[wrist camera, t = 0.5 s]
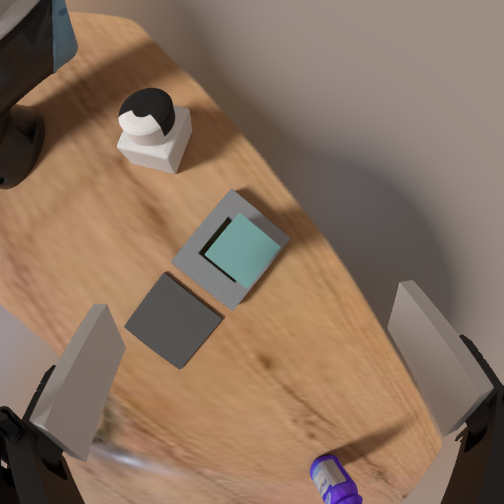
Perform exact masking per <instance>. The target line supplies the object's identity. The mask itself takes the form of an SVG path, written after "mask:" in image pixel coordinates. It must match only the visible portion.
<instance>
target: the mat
mask: <svg viewBox="0 0 504 504" xmlns="http://www.w3.org/2000/svg"><path fill="white" fill-rule="evenodd" d="M221 320H222V318H221V317H220V316H219V315H217V314H216V313H215V312H214V311H212V310H211V309H210V308H208V307H207V306H206V305H204V304H203V303H202V302H201V301H199V300H198V299H197V298H196V297H194V296H193V295H192V294H191V293H189V292H188V291H187V290H186V289H184V288H183V287H182V286H181V285H179V284H178V283H177V282H176V281H174V280H173V279H172V278H171V277H170V276H168V275H167V274H166V273H165V272H164V273H163V275H162V276H161V277H160V279H159V280H158V281H157V282H156V284H155V285H154V286H153V288H152V289H151V290H150V292H149V293H148V294H147V296H146V297H145V298H144V300H143V301H142V303H141V304H140V305H139V307H138V308H137V309H136V311H135V312H134V313H133V315H132V316H131V318H130V319H129V320H128V322H127V323H126V325H125V326H124V327H125V328H126V329H127V330H128V331H129V332H131V333H132V334H133V335H134V336H136V337H137V338H138V339H139V340H141V341H142V342H143V343H144V344H146V345H147V346H148V347H149V348H151V349H152V350H153V351H155V352H156V353H157V354H159V355H160V356H161V357H163V358H164V359H165V360H167V361H168V362H170V363H171V364H172V365H174V366H175V367H177V368H178V369H179V370H180V369H181V368H182V367H183V365H184V364H185V363H186V362H187V361H188V360H189V358H190V357H191V356H192V355H193V354H194V352H195V351H196V350H197V349H198V348H199V346H200V345H201V344H202V343H203V342H204V340H205V339H206V338H207V337H208V336H209V334H210V333H211V332H212V331H213V330H214V328H215V327H216V326H217V325H218V323H219V322H220V321H221Z"/></svg>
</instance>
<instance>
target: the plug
mask: <svg viewBox="0 0 504 504" xmlns="http://www.w3.org/2000/svg"><path fill="white" fill-rule="evenodd" d="M279 249H280V246H279V245H278V244H277V243H276V242H274V241H273V240H272V239H271V238H270V237H268V236H267V235H266V234H265V233H264V232H262V231H261V230H260V229H259V228H258V227H257V226H255V225H254V224H253V223H252V222H251V221H249V220H248V219H247V218H246V217H245V216H243V215H242V214H241V213H240V212H239V213H238V214H237V216H236V217H235V218H234V219H233V220H232V222H231V223H230V224H229V225H228V226H227V228H226V229H225V230H224V231H223V232H222V234H221V235H220V236H219V237H218V239H217V240H216V241H215V242H214V243H213V245H212V246H211V247H210V248H209V250H208V251H207V252H206V253H205V256H207V257H208V258H209V259H210V260H211V261H213V262H214V263H215V264H216V265H218V266H219V267H220V268H221V269H222V270H224V271H225V272H226V273H227V274H229V275H230V276H231V277H232V278H234V279H235V280H236V281H237V282H239V283H240V284H241V285H242V286H244V287H245V288H246V289H247V288H248V287H249V286H250V285H251V284H252V282H253V281H254V280H255V279H256V277H257V276H258V275H259V274H260V272H261V271H262V270H263V269H264V267H265V266H266V265H267V264H268V262H269V261H270V260H271V259H272V257H273V256H274V255H275V254H276V252H277V251H278V250H279Z"/></svg>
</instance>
